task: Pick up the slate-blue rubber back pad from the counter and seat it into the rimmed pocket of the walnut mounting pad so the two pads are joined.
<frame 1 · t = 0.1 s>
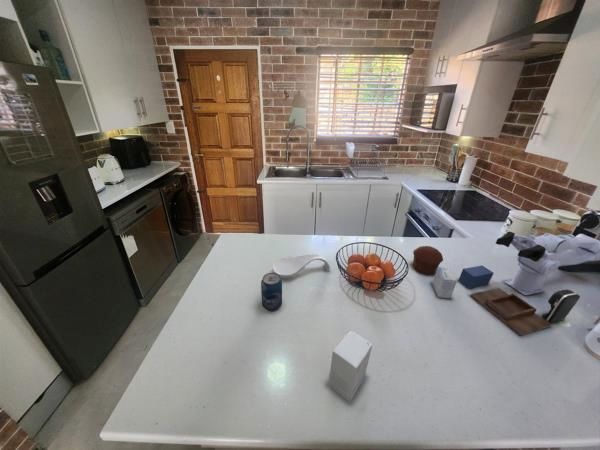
hand: (508, 246, 84), 22 cm above the countertop, tool horizontal, fingers open, 7 cm apart
mounting pad: (507, 310, 87), on the countertop
medicine box: (440, 291, 95), on the countertop
soda can: (272, 306, 85), on the countertop
small box: (346, 381, 63), on the countertop
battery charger: (550, 318, 85), on the countertop
muffin: (423, 268, 108), on the countertop
back pad: (472, 282, 100), on the countertop
spoon rest: (301, 271, 103), on the countertop
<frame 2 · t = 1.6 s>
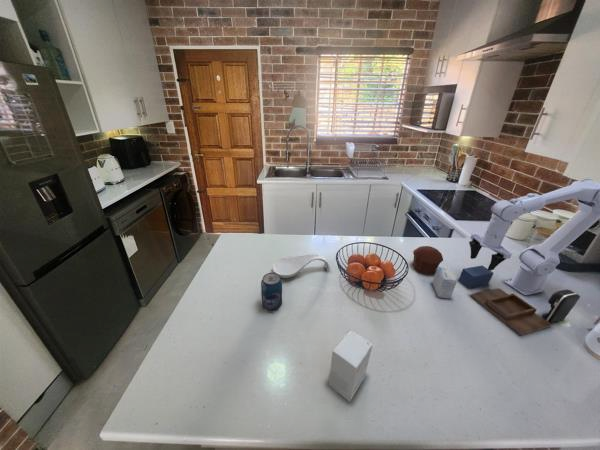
hand: (481, 263, 96), 9 cm above the countertop, tool pointing down, fingers open, 7 cm apart
nothing on the countertop moved.
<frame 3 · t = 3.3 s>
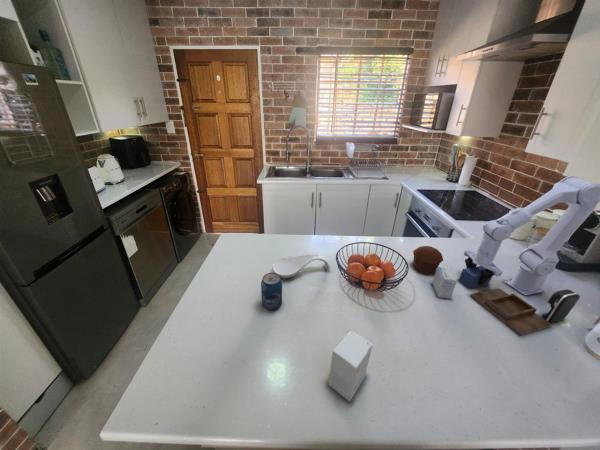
hand: (474, 279, 99), 2 cm above the countertop, tool pointing down, fingers closed on back pad, 5 cm apart
back pad: (473, 282, 100), on the countertop, touching gripper
everything else where it was.
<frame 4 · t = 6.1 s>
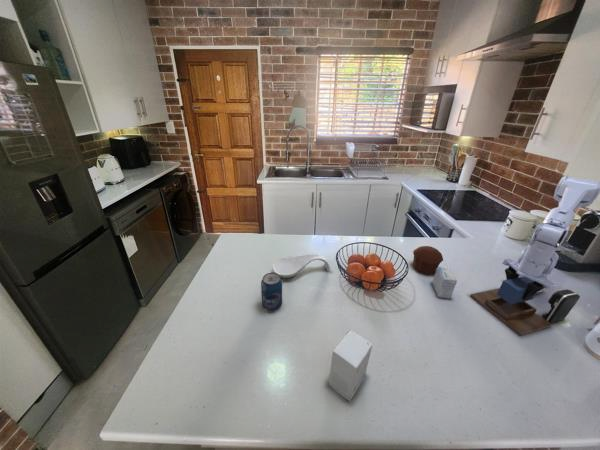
hand: (516, 293, 84), 8 cm above the countertop, tool pointing down, fingers closed on back pad, 5 cm apart
back pad: (514, 296, 84), point 6 cm above the countertop, touching gripper
everything else where it was.
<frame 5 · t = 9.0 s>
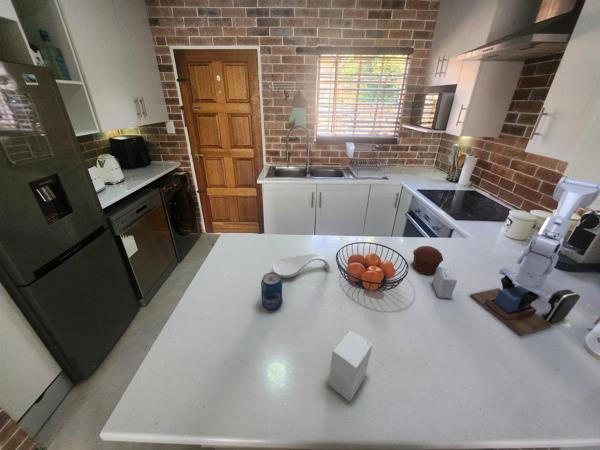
hand: (512, 302, 85), 4 cm above the countertop, tool pointing down, fingers closed on back pad, 5 cm apart
back pad: (510, 305, 86), point 2 cm above the countertop, touching gripper
everything else where it was.
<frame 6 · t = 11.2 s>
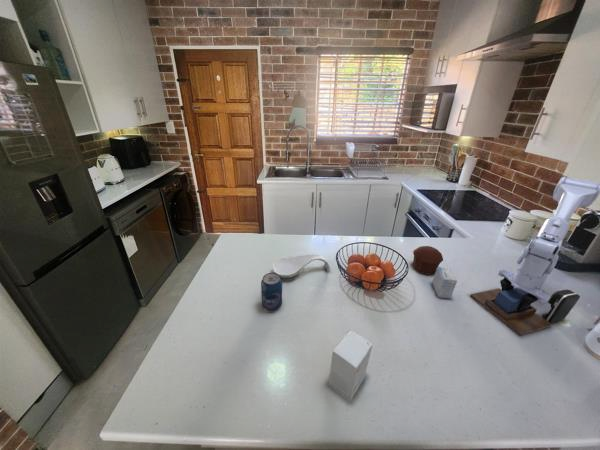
hand: (511, 303, 85), 3 cm above the countertop, tool pointing down, fingers closed on back pad, 5 cm apart
back pad: (509, 307, 86), point 2 cm above the countertop, touching gripper
everything else where it was.
when the fingers open (4 cm above the countertop, at t = 14.9 s): back pad drops 1 cm, resting on mounting pad.
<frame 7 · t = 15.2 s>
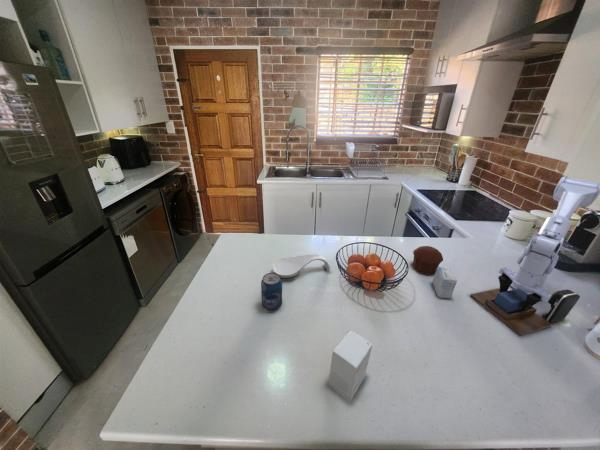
hand: (512, 301, 85), 4 cm above the countertop, tool pointing down, fingers open, 7 cm apart
back pad: (508, 308, 86), point 1 cm above the countertop, touching mounting pad
everything else where it was.
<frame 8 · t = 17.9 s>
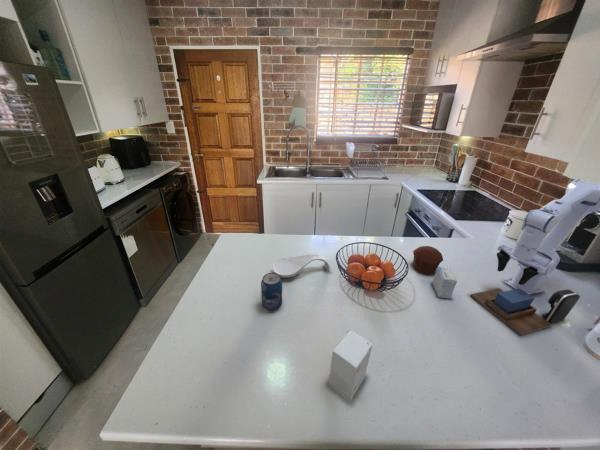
hand: (510, 277, 89), 9 cm above the countertop, tool pointing down, fingers open, 7 cm apart
nothing on the countertop moved.
at the end: back pad 0.1 cm off-centre on the mounting pad, point 1.0 cm above the mounting pad's base; back pad tilted 0° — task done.
